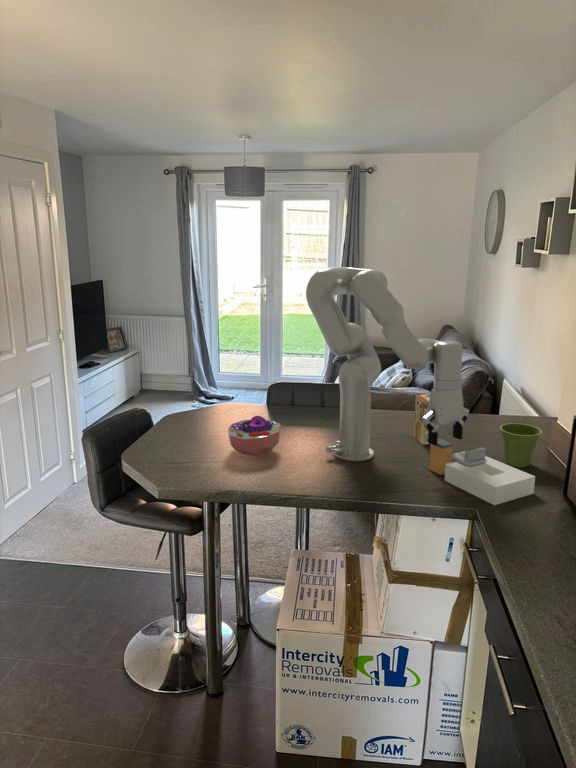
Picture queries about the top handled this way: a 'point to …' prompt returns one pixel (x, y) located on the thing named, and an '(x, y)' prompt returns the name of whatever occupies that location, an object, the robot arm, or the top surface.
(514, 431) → the plant pot
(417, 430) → the candy box
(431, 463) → the tan boxy piece
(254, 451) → the cell model
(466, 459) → the grey block
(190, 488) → the top surface
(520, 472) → the socket
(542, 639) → the top surface
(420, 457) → the top surface
